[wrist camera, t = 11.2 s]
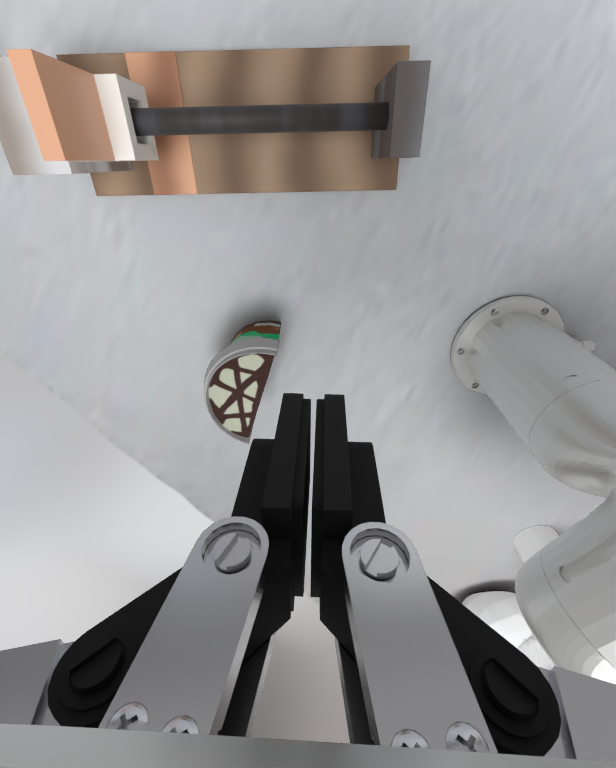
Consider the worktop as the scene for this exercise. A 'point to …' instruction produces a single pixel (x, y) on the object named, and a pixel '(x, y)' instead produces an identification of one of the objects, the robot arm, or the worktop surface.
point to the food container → (241, 378)
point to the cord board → (269, 147)
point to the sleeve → (80, 110)
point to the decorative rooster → (508, 623)
